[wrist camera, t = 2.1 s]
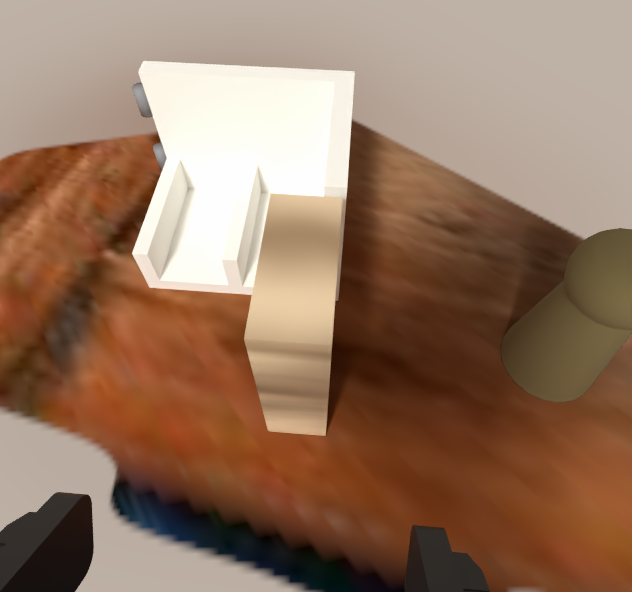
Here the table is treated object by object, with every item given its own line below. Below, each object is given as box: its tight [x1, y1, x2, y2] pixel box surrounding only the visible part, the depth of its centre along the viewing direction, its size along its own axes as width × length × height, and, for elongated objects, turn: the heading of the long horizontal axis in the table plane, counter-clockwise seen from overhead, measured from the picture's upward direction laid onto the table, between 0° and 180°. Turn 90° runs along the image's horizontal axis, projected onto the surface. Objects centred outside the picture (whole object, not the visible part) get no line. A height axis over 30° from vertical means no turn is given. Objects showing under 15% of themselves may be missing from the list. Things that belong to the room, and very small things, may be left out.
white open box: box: [132, 61, 355, 301], centre depth 33 cm, size 10×15×11 cm
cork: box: [501, 228, 632, 402], centre depth 27 cm, size 6×6×11 cm
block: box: [244, 193, 342, 436], centre depth 26 cm, size 8×4×12 cm, turn 175°
